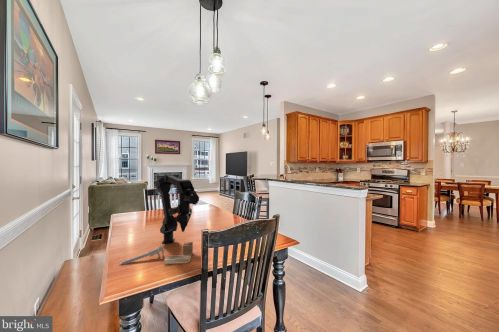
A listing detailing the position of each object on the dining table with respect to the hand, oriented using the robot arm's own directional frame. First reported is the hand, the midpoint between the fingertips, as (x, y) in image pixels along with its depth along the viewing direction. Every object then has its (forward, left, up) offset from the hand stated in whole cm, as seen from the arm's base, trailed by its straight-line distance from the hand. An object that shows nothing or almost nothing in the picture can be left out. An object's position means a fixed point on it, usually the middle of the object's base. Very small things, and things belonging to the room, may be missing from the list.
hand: (184, 229), depth 119 cm
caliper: (+10, -19, -12) cm, 25 cm away
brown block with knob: (+7, +3, -12) cm, 14 cm away
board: (+14, -1, -12) cm, 18 cm away
